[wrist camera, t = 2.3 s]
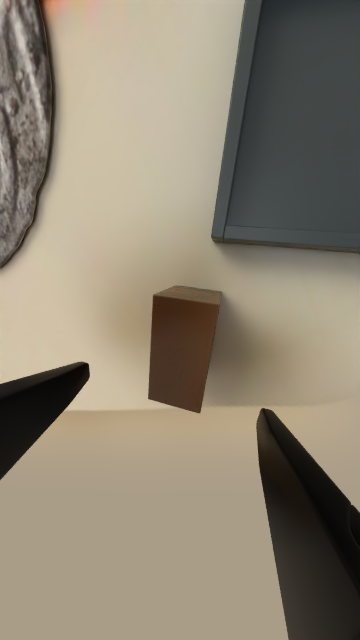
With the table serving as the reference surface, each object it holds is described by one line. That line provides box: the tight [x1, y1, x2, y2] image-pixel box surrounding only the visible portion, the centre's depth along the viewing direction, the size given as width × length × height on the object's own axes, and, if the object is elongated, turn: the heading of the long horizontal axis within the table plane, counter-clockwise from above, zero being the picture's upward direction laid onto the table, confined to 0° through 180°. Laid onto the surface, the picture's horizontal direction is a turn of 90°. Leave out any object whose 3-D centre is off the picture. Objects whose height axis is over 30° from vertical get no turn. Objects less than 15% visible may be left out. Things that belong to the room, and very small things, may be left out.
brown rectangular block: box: [148, 286, 222, 413], centre depth 14 cm, size 4×8×5 cm, turn 174°
